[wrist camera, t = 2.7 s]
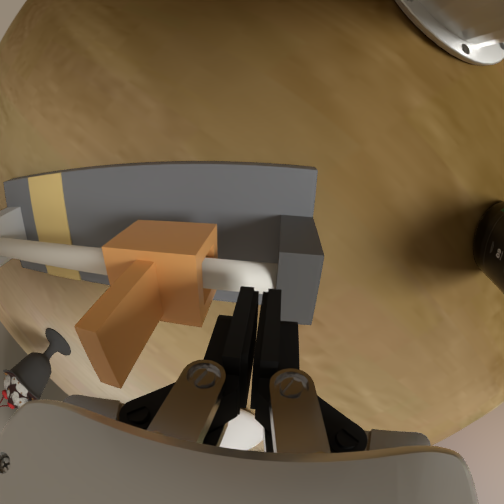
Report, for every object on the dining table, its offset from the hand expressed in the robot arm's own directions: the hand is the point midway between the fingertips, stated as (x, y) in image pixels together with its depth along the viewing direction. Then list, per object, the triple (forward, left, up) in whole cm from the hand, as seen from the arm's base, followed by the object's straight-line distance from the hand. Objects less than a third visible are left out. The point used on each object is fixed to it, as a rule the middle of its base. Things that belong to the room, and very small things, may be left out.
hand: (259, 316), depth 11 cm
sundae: (+18, -28, -9) cm, 35 cm away
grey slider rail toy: (0, -12, -9) cm, 15 cm away
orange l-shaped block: (0, -5, -5) cm, 7 cm away
